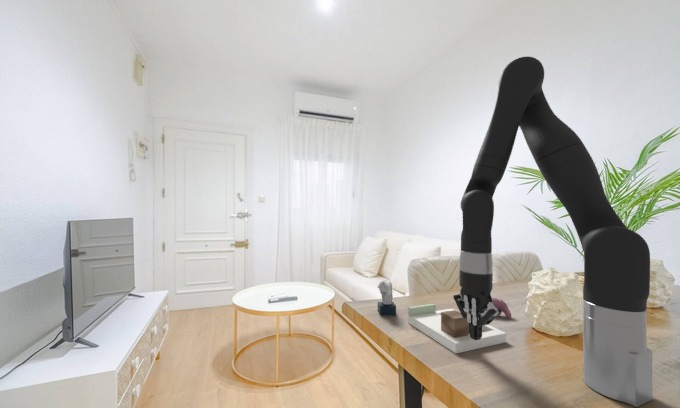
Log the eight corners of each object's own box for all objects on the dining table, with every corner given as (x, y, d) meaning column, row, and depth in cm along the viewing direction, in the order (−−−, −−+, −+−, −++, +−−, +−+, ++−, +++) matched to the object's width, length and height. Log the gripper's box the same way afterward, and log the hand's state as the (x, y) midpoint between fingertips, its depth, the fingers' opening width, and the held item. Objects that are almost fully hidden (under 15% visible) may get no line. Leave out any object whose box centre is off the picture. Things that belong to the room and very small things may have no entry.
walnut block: (468, 335, 74) (469, 316, 74) (454, 337, 72) (454, 318, 73) (454, 327, 79) (455, 310, 79) (441, 330, 77) (441, 312, 77)
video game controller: (507, 320, 96) (502, 299, 99) (513, 319, 92) (508, 297, 95) (477, 318, 96) (474, 298, 100) (482, 317, 92) (478, 295, 96)
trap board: (506, 342, 76) (506, 323, 76) (455, 353, 69) (455, 333, 70) (452, 315, 95) (452, 301, 95) (408, 322, 88) (408, 307, 88)
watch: (391, 308, 101) (391, 278, 101) (397, 317, 93) (397, 284, 93) (376, 308, 100) (376, 278, 101) (380, 317, 92) (381, 284, 93)
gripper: (510, 274, 65) (510, 348, 65) (466, 263, 77) (465, 326, 77) (487, 276, 62) (486, 354, 62) (445, 265, 75) (444, 329, 74)
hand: (475, 338), depth 69 cm, fingers closed
